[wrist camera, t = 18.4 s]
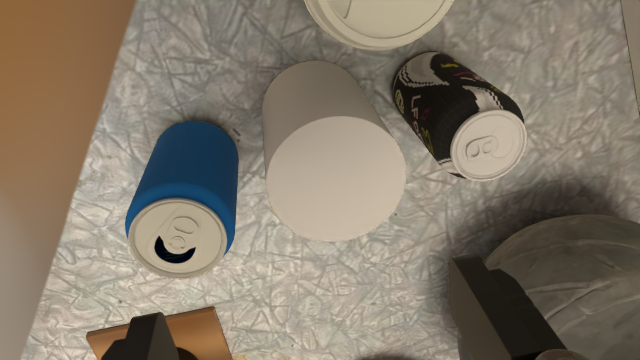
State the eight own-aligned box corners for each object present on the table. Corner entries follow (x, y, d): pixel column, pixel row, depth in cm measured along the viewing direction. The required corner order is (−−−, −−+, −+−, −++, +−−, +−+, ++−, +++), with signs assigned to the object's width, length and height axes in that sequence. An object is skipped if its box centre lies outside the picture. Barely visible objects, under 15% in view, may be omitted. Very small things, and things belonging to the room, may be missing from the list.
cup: (287, 173, 41) (300, 260, 31) (243, 87, 37) (240, 152, 27) (378, 134, 41) (423, 210, 30) (343, 42, 37) (380, 92, 26)
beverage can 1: (144, 174, 40) (106, 266, 29) (171, 103, 37) (140, 176, 27) (221, 201, 42) (211, 297, 31) (251, 136, 39) (251, 215, 29)
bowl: (515, 137, 42) (634, 236, 29) (673, 225, 49) (827, 338, 36) (384, 311, 50) (432, 452, 37) (537, 367, 57) (624, 503, 43)
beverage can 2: (385, 58, 38) (438, 113, 27) (459, 42, 38) (539, 89, 27) (394, 127, 41) (445, 200, 30) (462, 111, 41) (537, 179, 30)
